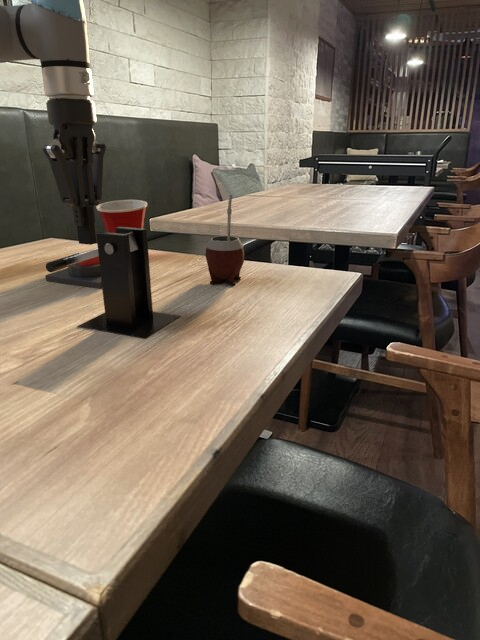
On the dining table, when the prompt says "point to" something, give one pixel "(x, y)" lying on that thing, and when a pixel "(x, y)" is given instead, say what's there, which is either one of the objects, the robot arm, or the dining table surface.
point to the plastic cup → (122, 214)
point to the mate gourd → (225, 256)
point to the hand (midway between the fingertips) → (87, 243)
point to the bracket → (126, 287)
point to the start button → (90, 262)
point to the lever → (83, 257)
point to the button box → (78, 276)
